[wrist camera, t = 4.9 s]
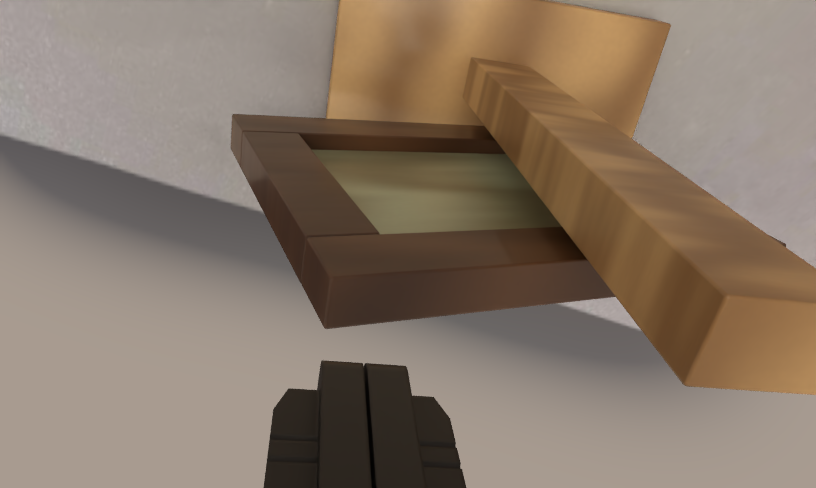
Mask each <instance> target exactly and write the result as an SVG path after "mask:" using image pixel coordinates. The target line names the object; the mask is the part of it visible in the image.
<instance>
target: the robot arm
mask: <svg viewBox="0 0 816 488" xmlns="http://www.w3.org/2000/svg"><path fill="white" fill-rule="evenodd" d="M455 444H456V443H455V438H454V434H453V430H452V425H451V421H450V418H449V417H448V415H447V414H446V413H445V412H444V410H443V409H442V408H441V406H440V405H439V404H438V402H437V401H436V400H435V398H434V397H424V396H412V394H411V388H410V382H409V376H408V370H407V367H406V366H397V365H383V364H369V363H366V364H365V365H364V367H363V364H362V363H351V362H337V361H321V366H320V374H319V380H318V388H317V390H304V389H288V390H287V392H286V393H285V394H284V396H283V397H282V398H281V400H280V401H279V402H278V404H277V405H276V407H275V408H274V410H273V417H272V425H271V434H270V441H269V450H268V458H267V465H266V473H265V481H264V488H466V485H465V480H464V476H463V472H462V469H460V459H459V455H458V451H457V448H456V447H455Z"/></svg>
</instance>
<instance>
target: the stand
mask: <svg viewBox="0 0 816 488" xmlns="http://www.w3.org/2000/svg"><path fill="white" fill-rule="evenodd" d="M670 27H671V25H670V24H669V23H665V22H662V21H658V20H653V19H648V18H642V17H637V16H631V15H626V14H620V13H615V12H609V11H604V10H598V9H593V8H588V7H582V6H577V5H571V4H566V3H560V2H555V1H549V0H339V5H338V14H337V23H336V31H335V40H334V49H333V58H332V67H331V76H330V84H329V93H328V102H327V111H326V118H328V119H349V120H370V121H391V122H413V123H434V124H455V125H476V126H485V127H486V128H487V130H488V131H489V132H490V134H491V135H492V136H493V138H494V139H495V140H496V141H497V143H498V144H499V145H500V147H501V148H502V149H503V151H504V152H505V153H506V154H507V156H508V157H509V158H510V160H511V161H512V162H513V164H514V165H515V166H516V167H517V169H518V170H519V171H520V173H521V174H522V175H523V177H524V178H525V179H526V180H527V182H528V183H529V184H530V186H531V187H532V188H533V190H534V191H535V192H536V193H537V195H538V196H539V197H540V199H541V200H542V201H543V203H544V204H545V205H546V206H547V208H548V209H549V210H550V212H551V213H552V214H553V216H554V217H555V218H556V220H557V221H558V222H559V223H560V225H561V226H562V227H563V229H564V230H565V231H566V233H567V234H568V235H569V236H570V238H571V239H572V240H573V242H574V243H575V244H576V246H577V247H578V248H579V249H580V251H581V252H582V253H583V255H584V256H585V257H586V259H587V260H588V261H589V262H590V264H591V265H592V266H593V268H594V269H595V270H596V272H597V273H598V274H599V275H600V277H601V278H602V279H603V281H604V282H605V283H606V285H607V286H608V287H609V288H610V290H611V291H612V292H613V294H614V295H615V296H616V298H617V299H618V300H619V302H620V303H621V304H622V305H623V307H624V308H625V309H626V311H627V312H628V313H629V315H630V316H631V317H632V318H633V320H634V321H635V322H636V324H637V325H638V326H639V328H640V329H641V330H642V331H643V333H644V334H645V335H646V337H647V338H648V339H649V341H650V342H651V343H652V344H653V346H654V347H655V348H656V350H657V351H658V352H659V354H660V355H661V356H662V357H663V359H664V360H665V361H666V363H667V364H668V365H669V367H670V368H671V369H672V370H673V371H674V373H675V374H676V376H677V377H678V378H679V380H680V381H681V382H682V384H684V385H685V386H691V387H706V388H721V389H736V390H750V391H765V392H780V393H796V394H810V395H816V269H815V268H814V267H813V266H811V265H810V264H808V263H807V262H806V261H804V260H803V259H801V258H800V257H798V256H797V255H796V254H794V253H793V252H791V251H790V250H789V249H787V248H786V247H784V246H783V245H781V244H780V243H779V242H777V241H776V240H774V239H773V238H772V237H770V236H769V235H767V234H766V233H764V232H763V231H762V230H760V229H759V228H757V227H756V226H755V225H753V224H752V223H750V222H749V221H747V220H746V219H745V218H743V217H742V216H740V215H739V214H738V213H736V212H735V211H733V210H732V209H730V208H729V207H728V206H726V205H725V204H723V203H722V202H721V201H719V200H718V199H716V198H715V197H713V196H712V195H711V194H709V193H708V192H706V191H705V190H704V189H702V188H701V187H699V186H698V185H696V184H695V183H694V182H692V181H691V180H689V179H688V178H687V177H685V176H684V175H682V174H681V173H679V172H678V171H677V170H675V169H674V168H672V167H671V166H670V165H668V164H667V163H665V162H664V161H662V160H661V159H660V158H658V157H657V156H655V155H654V154H653V153H651V152H650V151H648V150H647V149H645V148H644V147H643V146H641V145H640V144H638V143H637V142H636V141H634V140H633V139H632V137H633V134H634V131H635V128H636V125H637V122H638V119H639V117H640V114H641V111H642V108H643V105H644V102H645V99H646V96H647V93H648V90H649V88H650V85H651V82H652V79H653V76H654V73H655V70H656V67H657V64H658V61H659V59H660V56H661V53H662V50H663V47H664V44H665V41H666V38H667V35H668V32H669V30H670Z"/></svg>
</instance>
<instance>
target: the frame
mask: <svg viewBox="0 0 816 488" xmlns="http://www.w3.org/2000/svg"><path fill="white" fill-rule="evenodd" d="M231 150H232V152H233V154H234V156H235V158H236V160H237V161H238V163H239V165H240V167H241V169H242V171H243V173H244V175H245V177H246V179H247V181H248V183H249V185H250V186H251V188H252V190H253V192H254V194H255V196H256V198H257V200H258V202H259V204H260V206H261V208H262V210H263V211H264V213H265V215H266V217H267V219H268V221H269V223H270V225H271V227H272V229H273V231H274V233H275V235H276V236H277V238H278V240H279V242H280V244H281V246H282V248H283V250H284V252H285V254H286V255H287V258H288V259H289V262H290V263H291V265H292V267H293V269H294V271H295V273H296V275H297V277H298V279H299V281H300V282H301V284H302V286H303V288H304V290H305V292H306V293H307V296H308V298H309V299H310V301H311V303H312V305H313V307H314V309H315V311H316V313H317V315H318V317H319V319H320V321H321V323H322V325H323V326H324V328H325V329H330V328H339V327H349V326H357V325H366V324H376V323H384V322H393V321H401V320H411V319H420V318H429V317H438V316H447V315H456V314H465V313H474V312H483V311H492V310H501V309H509V308H519V307H528V306H536V305H546V304H555V303H564V302H573V301H582V300H591V299H599V298H608V297H616V296H615V295H614V294H613V292H612V291H611V290H610V288H609V287H608V286H607V285H606V283H605V282H604V281H603V279H602V278H601V277H600V275H599V274H598V273H597V272H596V270H595V269H594V268H593V266H592V265H591V264H590V262H589V261H588V260H587V259H586V257H585V256H584V255H583V253H582V252H581V251H580V249H579V248H578V247H577V246H576V244H575V243H574V242H573V240H572V239H571V238H570V236H569V235H568V234H567V233H566V231H565V230H564V229H563V227H562V226H561V225H560V223H559V222H558V221H557V220H556V218H555V217H554V216H553V214H552V213H551V212H550V210H549V209H548V208H547V206H546V205H545V204H544V203H543V201H542V200H541V199H540V197H539V196H538V195H537V193H536V192H535V191H534V190H533V188H532V187H531V186H530V184H529V183H528V182H527V180H526V179H525V178H524V177H523V175H522V174H521V173H520V171H519V170H518V169H517V167H516V166H515V165H514V164H513V162H512V161H511V160H510V158H509V157H508V156H507V154H506V153H505V152H504V151H503V149H502V148H501V147H500V145H499V144H498V143H497V141H496V140H495V139H494V138H493V136H492V135H491V134H490V132H489V131H488V130H487V128H486V127H485V126H476V125H455V124H434V123H413V122H391V121H370V120H349V119H328V118H306V117H285V116H264V115H242V114H233V115H232V131H231ZM770 237H771V236H770ZM772 238H773V237H772ZM773 239H774V240H776V241H777V242H779V243H780V244H781V245H783V246H784V247H786V244H785V243H783V242H781V241H779V240H777V239H775V238H773Z"/></svg>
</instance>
